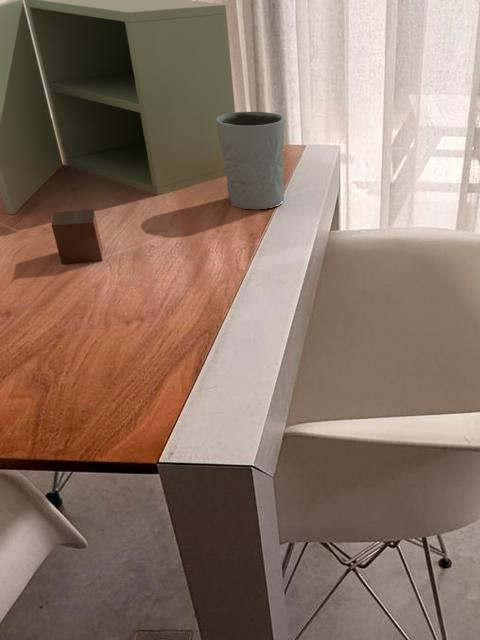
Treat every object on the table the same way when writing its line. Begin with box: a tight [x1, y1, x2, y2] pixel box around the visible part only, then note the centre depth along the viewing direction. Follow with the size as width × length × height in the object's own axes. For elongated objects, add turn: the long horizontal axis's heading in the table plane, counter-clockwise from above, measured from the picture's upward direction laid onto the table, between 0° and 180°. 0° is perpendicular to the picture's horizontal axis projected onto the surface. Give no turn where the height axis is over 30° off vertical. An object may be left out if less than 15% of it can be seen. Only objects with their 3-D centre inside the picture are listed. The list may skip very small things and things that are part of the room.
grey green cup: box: [216, 111, 285, 210], centre depth 105 cm, size 10×10×12 cm
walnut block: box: [51, 208, 103, 265], centre depth 88 cm, size 5×5×5 cm
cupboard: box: [23, 0, 236, 196], centre depth 113 cm, size 18×26×24 cm
